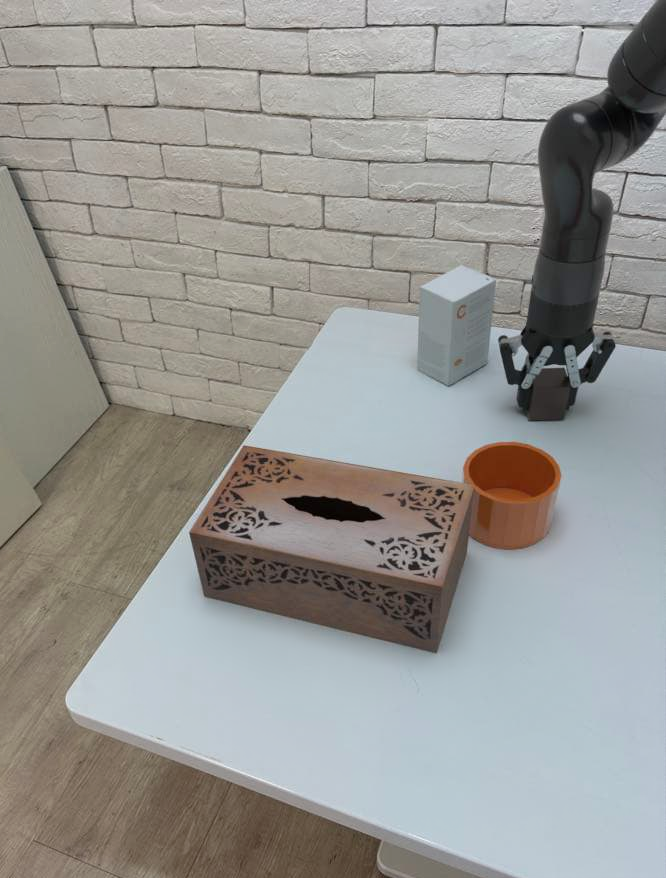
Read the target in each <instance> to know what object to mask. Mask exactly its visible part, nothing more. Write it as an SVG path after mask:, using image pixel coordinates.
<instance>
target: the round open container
mask: <svg viewBox="0 0 666 878" xmlns="http://www.w3.org/2000/svg"><path fill="white" fill-rule="evenodd" d="M562 476H563V475H562V471H561V467H560V464H559V463H558V462H557V461H556V459H555V458H554V457H553V456H552V455H550V454H549V453H547V452H546V451H544V450H543V449H542V448H539V447H536V446H534V445H532V444H528V443H523V442H518V441H498V442H493V443H489V444H485V445H483V446H480V447H479V448H477V449H474V450H473V451H472V452H471V453H470V455H468V456H467V457H466V459H465V461H464V463H463V466H462V473H461V483H466V484H472V485H475V486H474V495H473V504H472V512H471V521H470V530H469V537H470V538H472V539H473V540H474V541H477V542H478V543H481V544H483V545H484V546H488V547H490V548H496V549H501V550H517V549H523V548H528V547H531V546H533V545H536V544H537V543H539V542H540V541H541V540H542V539H544V538H545V537H546V536H547V535H548V533H549V531H550V529H551V526H552V522H553V518H554V515H555V514H554V513H555V508H556V505H557V500H558V495H559V490H560V485H561V481H562Z"/></svg>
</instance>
